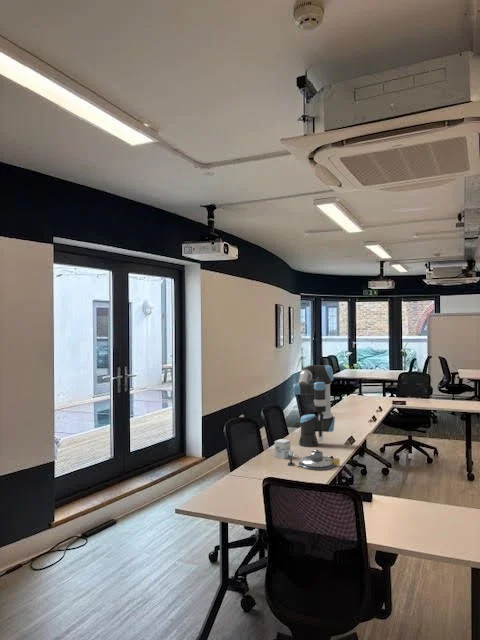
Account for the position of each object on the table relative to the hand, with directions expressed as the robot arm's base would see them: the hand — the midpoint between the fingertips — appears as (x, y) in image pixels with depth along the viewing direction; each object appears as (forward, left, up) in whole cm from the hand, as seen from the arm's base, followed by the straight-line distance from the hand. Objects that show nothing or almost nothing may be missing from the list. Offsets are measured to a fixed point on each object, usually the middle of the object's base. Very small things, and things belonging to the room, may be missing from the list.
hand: (320, 441), depth 314 cm
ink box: (-20, -29, -17) cm, 40 cm away
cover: (-4, -3, -14) cm, 15 cm away
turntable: (-4, -1, -16) cm, 16 cm away
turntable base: (-4, -3, -17) cm, 18 cm away
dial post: (-1, -19, -17) cm, 26 cm away
